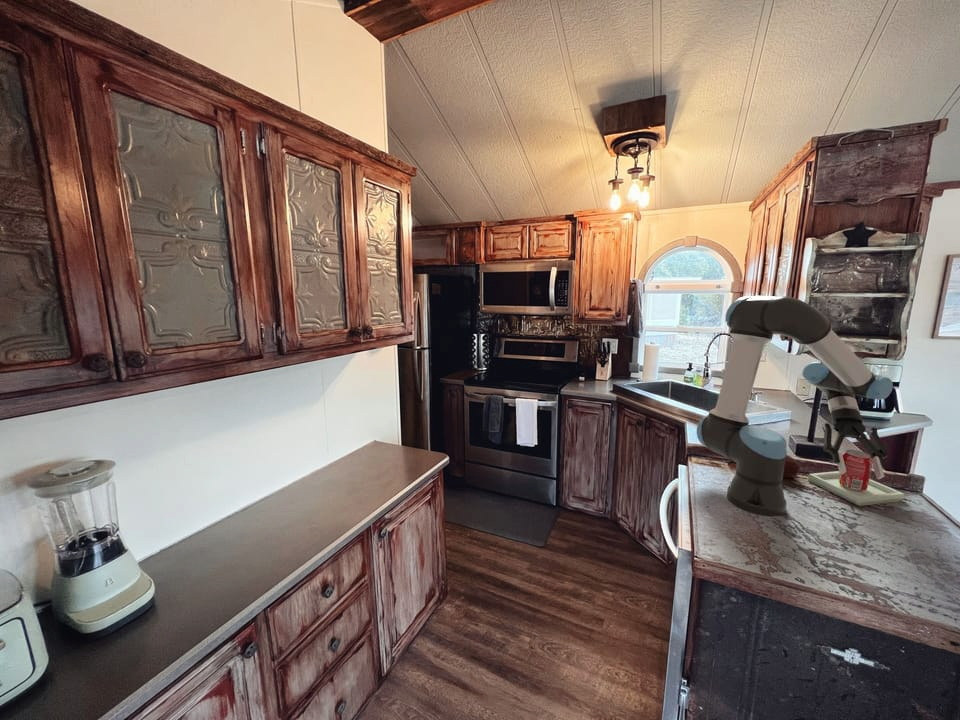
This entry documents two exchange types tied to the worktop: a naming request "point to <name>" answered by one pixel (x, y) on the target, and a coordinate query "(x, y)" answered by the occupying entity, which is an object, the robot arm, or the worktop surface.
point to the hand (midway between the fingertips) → (861, 475)
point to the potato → (790, 467)
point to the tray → (870, 496)
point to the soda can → (856, 470)
